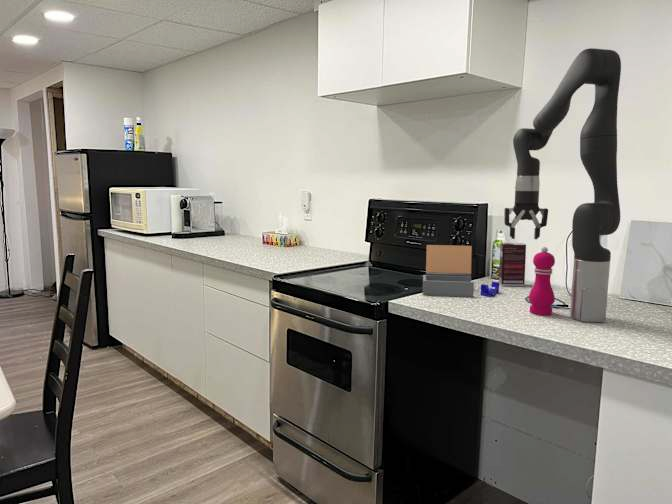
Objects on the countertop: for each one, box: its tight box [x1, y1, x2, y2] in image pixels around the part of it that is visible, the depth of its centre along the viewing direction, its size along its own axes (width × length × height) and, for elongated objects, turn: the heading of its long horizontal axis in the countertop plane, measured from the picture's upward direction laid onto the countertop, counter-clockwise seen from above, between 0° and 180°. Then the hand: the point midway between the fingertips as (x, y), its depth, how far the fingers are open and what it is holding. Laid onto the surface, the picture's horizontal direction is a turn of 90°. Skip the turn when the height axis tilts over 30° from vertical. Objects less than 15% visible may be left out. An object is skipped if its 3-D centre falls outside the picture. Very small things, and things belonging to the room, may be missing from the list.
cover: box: [425, 244, 473, 277], centre depth 184 cm, size 11×16×1 cm
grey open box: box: [422, 274, 475, 298], centre depth 178 cm, size 11×17×5 cm, turn 80°
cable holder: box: [479, 281, 500, 298], centre depth 176 cm, size 8×4×4 cm, turn 129°
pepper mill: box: [528, 246, 556, 316], centre depth 150 cm, size 7×7×20 cm
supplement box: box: [498, 242, 527, 287], centre depth 190 cm, size 9×5×16 cm, turn 84°
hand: (524, 238), depth 171 cm, fingers open, 7 cm apart
